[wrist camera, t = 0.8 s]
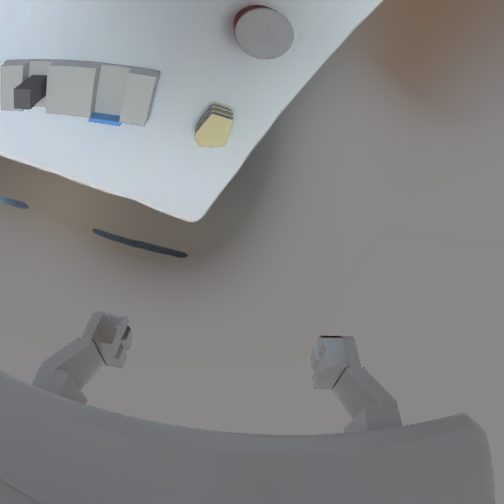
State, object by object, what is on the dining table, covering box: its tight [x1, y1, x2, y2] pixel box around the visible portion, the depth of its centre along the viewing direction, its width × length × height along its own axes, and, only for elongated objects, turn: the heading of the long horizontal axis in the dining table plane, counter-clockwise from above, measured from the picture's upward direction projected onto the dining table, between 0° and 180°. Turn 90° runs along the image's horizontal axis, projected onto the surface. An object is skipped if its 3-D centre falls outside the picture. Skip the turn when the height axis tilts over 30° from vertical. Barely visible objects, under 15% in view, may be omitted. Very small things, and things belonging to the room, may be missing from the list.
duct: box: [1, 60, 160, 127], centre depth 40 cm, size 11×34×4 cm, turn 69°
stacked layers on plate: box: [194, 105, 233, 147], centre depth 50 cm, size 10×9×6 cm
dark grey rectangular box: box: [14, 75, 47, 109], centre depth 36 cm, size 4×4×7 cm
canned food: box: [234, 5, 293, 59], centre depth 34 cm, size 8×8×11 cm
